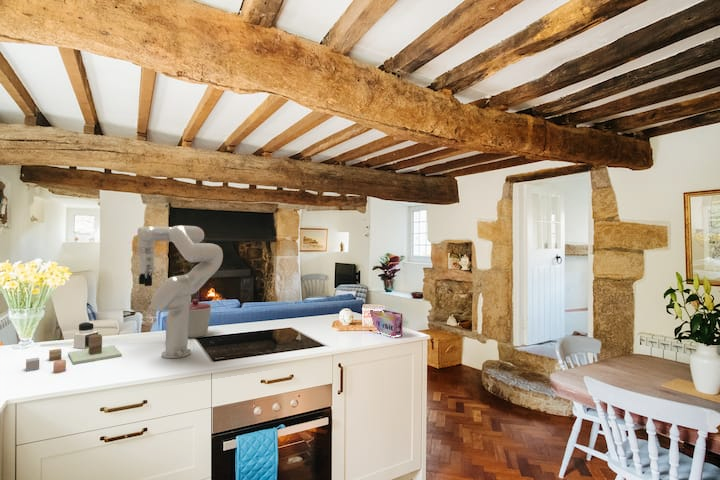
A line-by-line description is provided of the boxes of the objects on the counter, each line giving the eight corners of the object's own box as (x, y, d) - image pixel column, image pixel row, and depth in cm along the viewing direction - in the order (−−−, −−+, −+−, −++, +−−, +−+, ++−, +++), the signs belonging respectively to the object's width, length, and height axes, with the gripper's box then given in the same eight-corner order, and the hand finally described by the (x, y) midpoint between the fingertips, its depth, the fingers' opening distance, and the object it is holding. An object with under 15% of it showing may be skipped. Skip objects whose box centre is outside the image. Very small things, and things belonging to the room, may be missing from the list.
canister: (183, 331, 219) (184, 296, 219) (215, 331, 221) (216, 296, 221) (171, 340, 201) (172, 301, 201) (206, 339, 203) (207, 301, 203)
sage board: (121, 356, 172) (121, 353, 172) (73, 364, 159) (73, 361, 159) (113, 347, 185) (113, 345, 185) (68, 354, 172) (68, 352, 172)
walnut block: (101, 353, 172) (102, 336, 172) (89, 355, 169) (90, 337, 169) (100, 350, 175) (100, 334, 175) (88, 352, 172) (88, 335, 172)
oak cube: (61, 359, 166) (61, 350, 166) (49, 361, 163) (49, 352, 163) (60, 357, 169) (60, 348, 169) (49, 359, 166) (49, 350, 166)
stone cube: (39, 369, 153) (39, 359, 153) (26, 371, 150) (26, 361, 150) (38, 366, 156) (38, 357, 156) (25, 369, 153) (26, 359, 153)
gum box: (404, 337, 218) (404, 314, 218) (395, 339, 213) (395, 315, 213) (377, 329, 237) (377, 308, 237) (367, 330, 232) (368, 309, 232)
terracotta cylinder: (66, 371, 151) (66, 361, 151) (53, 373, 148) (54, 363, 149) (65, 368, 154) (65, 359, 154) (52, 371, 151) (53, 361, 151)
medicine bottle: (85, 349, 181) (85, 324, 181) (73, 347, 183) (73, 323, 183) (98, 345, 188) (98, 321, 188) (86, 344, 190) (87, 320, 190)
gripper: (159, 251, 182) (158, 286, 182) (148, 250, 195) (148, 283, 195) (142, 251, 177) (141, 287, 177) (132, 250, 189) (132, 284, 189)
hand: (145, 285), depth 186 cm, fingers open, 9 cm apart
